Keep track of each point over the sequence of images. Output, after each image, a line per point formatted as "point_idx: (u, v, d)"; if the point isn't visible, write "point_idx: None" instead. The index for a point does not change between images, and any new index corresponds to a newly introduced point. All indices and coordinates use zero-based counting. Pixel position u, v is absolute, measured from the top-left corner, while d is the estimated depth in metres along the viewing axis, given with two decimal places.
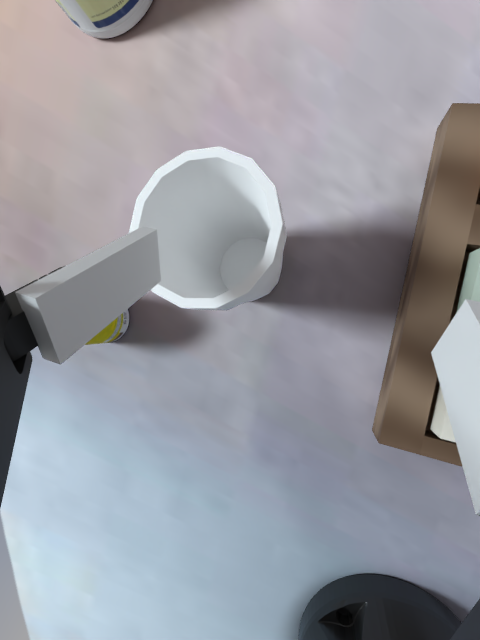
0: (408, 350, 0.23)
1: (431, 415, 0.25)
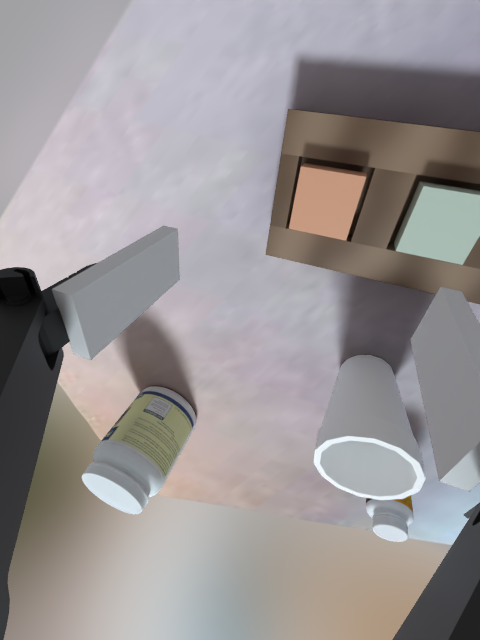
0: None
1: None
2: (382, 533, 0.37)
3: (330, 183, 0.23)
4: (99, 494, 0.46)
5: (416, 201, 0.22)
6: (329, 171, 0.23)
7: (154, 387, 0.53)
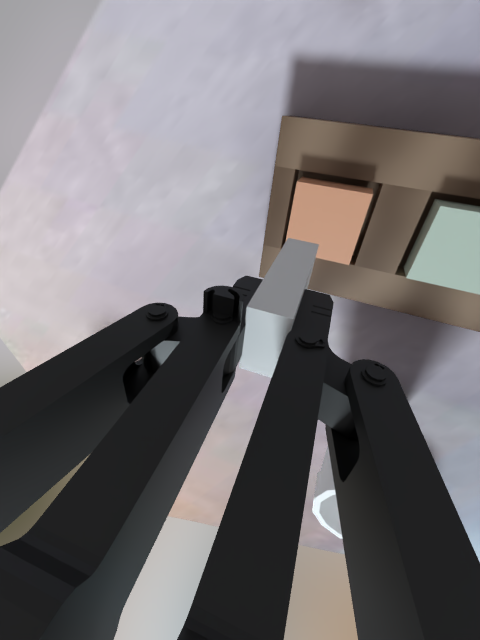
0: None
1: None
2: None
3: (330, 201, 0.20)
4: None
5: (431, 223, 0.19)
6: (329, 187, 0.20)
7: None
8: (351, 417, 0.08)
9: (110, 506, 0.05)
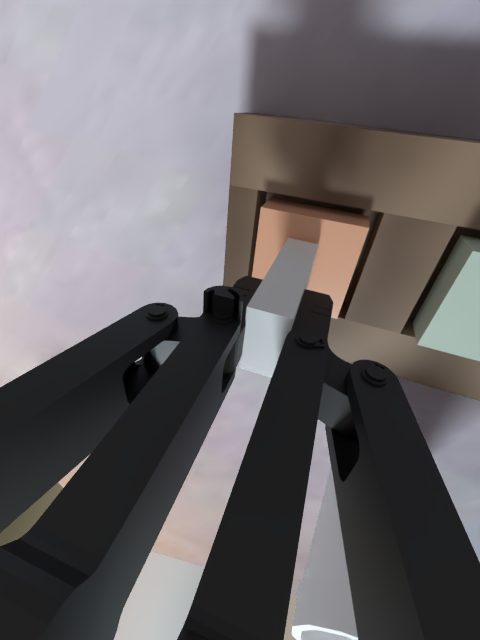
0: None
1: None
2: None
3: (308, 235, 0.14)
4: None
5: (457, 273, 0.13)
6: (307, 216, 0.14)
7: None
8: (351, 417, 0.08)
9: (110, 507, 0.05)
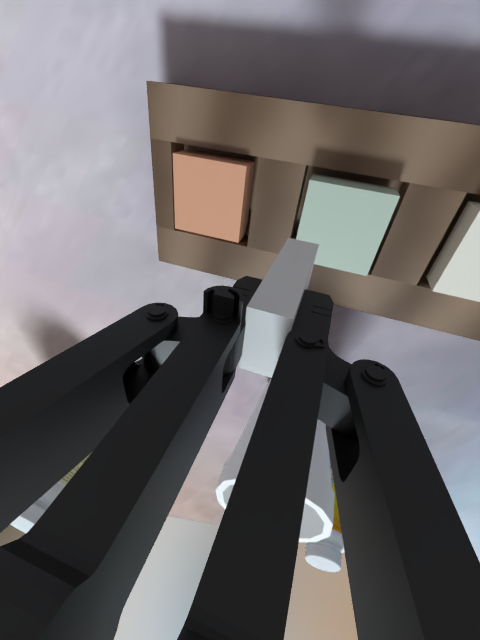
0: (398, 312, 0.22)
1: None
2: (315, 563, 0.34)
3: (208, 174, 0.19)
4: (14, 524, 0.41)
5: None
6: (205, 159, 0.19)
7: None
8: (351, 417, 0.08)
9: (110, 506, 0.05)
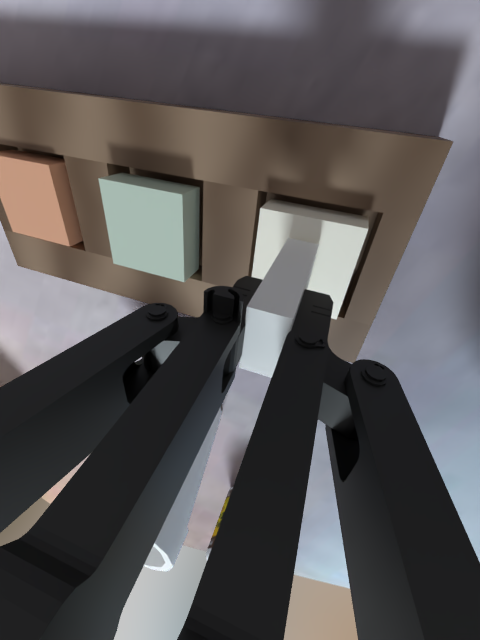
0: None
1: None
2: None
3: (20, 174, 0.18)
4: None
5: None
6: (12, 158, 0.18)
7: None
8: (351, 417, 0.08)
9: (110, 506, 0.05)
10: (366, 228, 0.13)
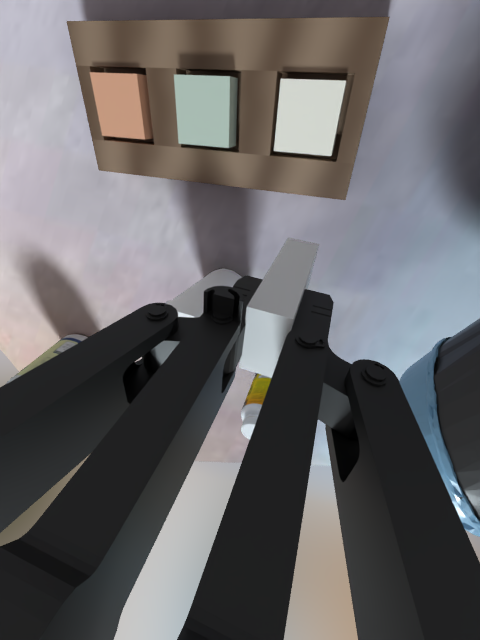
0: (264, 182, 0.29)
1: None
2: (249, 435, 0.41)
3: (114, 85, 0.27)
4: None
5: None
6: (110, 73, 0.27)
7: None
8: (351, 417, 0.08)
9: (110, 506, 0.05)
10: None
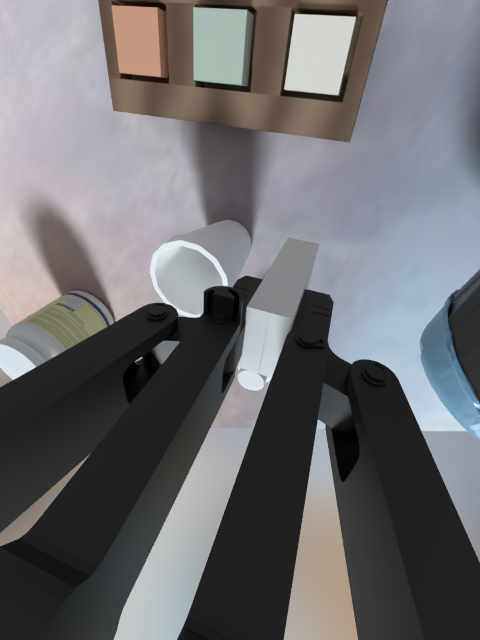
0: (273, 124, 0.30)
1: None
2: (245, 383, 0.42)
3: (135, 19, 0.29)
4: (11, 373, 0.50)
5: None
6: (132, 7, 0.28)
7: (72, 291, 0.58)
8: (351, 417, 0.08)
9: (110, 507, 0.05)
10: (355, 17, 0.24)
